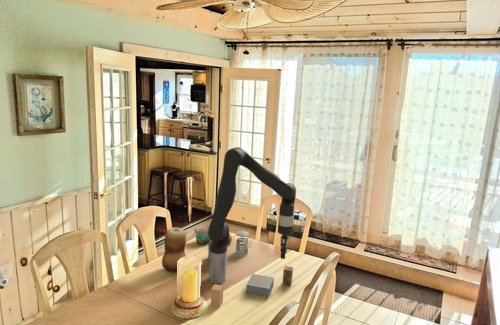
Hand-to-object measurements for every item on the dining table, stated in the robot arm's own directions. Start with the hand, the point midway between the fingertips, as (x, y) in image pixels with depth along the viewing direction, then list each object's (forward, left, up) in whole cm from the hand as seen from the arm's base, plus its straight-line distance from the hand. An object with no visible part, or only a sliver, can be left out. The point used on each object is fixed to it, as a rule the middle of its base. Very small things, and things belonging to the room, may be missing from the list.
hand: (283, 255), depth 177 cm
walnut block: (-10, +12, -23) cm, 28 cm away
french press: (-52, +7, -23) cm, 58 cm away
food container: (-77, -11, -23) cm, 81 cm away
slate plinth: (-11, -5, -23) cm, 26 cm away
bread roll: (-75, +4, -24) cm, 79 cm away
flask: (-50, -13, -23) cm, 57 cm away
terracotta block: (-9, -31, -23) cm, 40 cm away
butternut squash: (-50, -39, -23) cm, 68 cm away
